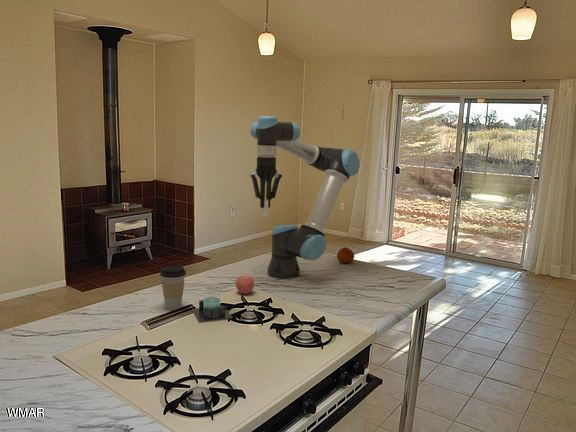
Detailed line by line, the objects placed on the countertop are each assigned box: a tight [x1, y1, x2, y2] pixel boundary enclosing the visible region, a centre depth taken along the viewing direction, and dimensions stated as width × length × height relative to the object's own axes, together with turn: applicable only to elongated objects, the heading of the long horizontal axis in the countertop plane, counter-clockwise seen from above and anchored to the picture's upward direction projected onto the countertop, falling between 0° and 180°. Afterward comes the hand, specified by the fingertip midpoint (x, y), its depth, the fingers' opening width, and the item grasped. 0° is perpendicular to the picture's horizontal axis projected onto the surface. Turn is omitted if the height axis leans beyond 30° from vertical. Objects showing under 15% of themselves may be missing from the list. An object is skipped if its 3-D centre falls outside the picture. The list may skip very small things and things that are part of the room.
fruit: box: [336, 247, 355, 264], centre depth 246 cm, size 9×9×8 cm
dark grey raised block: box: [191, 299, 233, 324], centre depth 173 cm, size 12×12×4 cm
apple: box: [235, 274, 255, 295], centre depth 195 cm, size 7×7×8 cm
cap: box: [202, 296, 221, 314], centre depth 172 cm, size 6×6×5 cm
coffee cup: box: [159, 265, 187, 311], centre depth 177 cm, size 9×9×15 cm
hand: (264, 215), depth 191 cm, fingers closed
